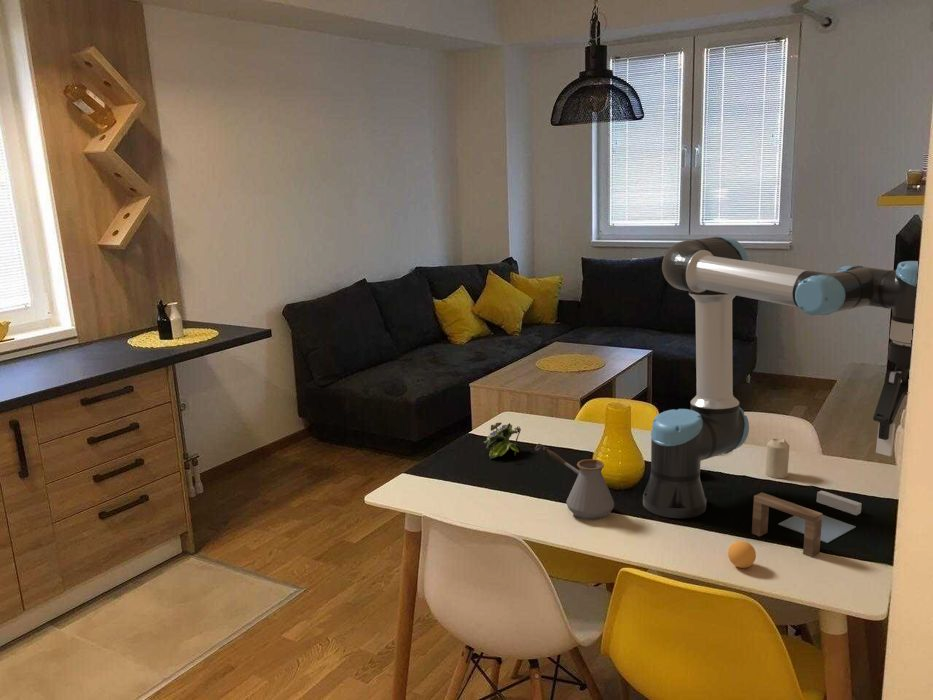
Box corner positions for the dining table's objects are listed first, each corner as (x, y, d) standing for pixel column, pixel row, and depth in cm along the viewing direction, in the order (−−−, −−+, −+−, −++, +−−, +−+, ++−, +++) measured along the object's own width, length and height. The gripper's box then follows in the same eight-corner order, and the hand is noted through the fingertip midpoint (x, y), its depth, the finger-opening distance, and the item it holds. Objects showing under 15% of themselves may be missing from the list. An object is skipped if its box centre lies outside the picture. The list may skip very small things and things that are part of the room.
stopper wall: (816, 501, 194) (817, 492, 194) (820, 499, 195) (821, 490, 195) (856, 515, 186) (857, 505, 186) (860, 513, 188) (861, 503, 187)
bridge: (811, 557, 168) (814, 517, 166) (751, 533, 179) (753, 495, 177) (819, 553, 170) (822, 513, 167) (759, 529, 181) (761, 492, 179)
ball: (721, 565, 166) (723, 541, 165) (737, 557, 169) (739, 533, 168) (744, 575, 161) (746, 551, 160) (760, 567, 165) (762, 542, 163)
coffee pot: (622, 511, 193) (623, 453, 189) (598, 528, 184) (599, 468, 180) (549, 490, 206) (549, 436, 202) (524, 505, 197) (523, 449, 194)
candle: (783, 470, 214) (786, 436, 211) (790, 478, 208) (792, 443, 206) (763, 470, 214) (765, 435, 212) (768, 478, 209) (770, 443, 207)
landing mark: (778, 524, 183) (778, 523, 183) (806, 510, 190) (806, 509, 190) (827, 543, 174) (827, 542, 174) (855, 527, 181) (855, 526, 181)
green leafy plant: (496, 467, 237) (503, 429, 241) (526, 468, 230) (533, 429, 234) (474, 456, 229) (482, 417, 233) (504, 456, 222) (512, 416, 226)
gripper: (901, 356, 142) (889, 466, 147) (959, 335, 157) (947, 435, 162) (860, 349, 148) (850, 455, 153) (919, 329, 163) (908, 426, 168)
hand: (899, 445), depth 157 cm, fingers open, 13 cm apart
